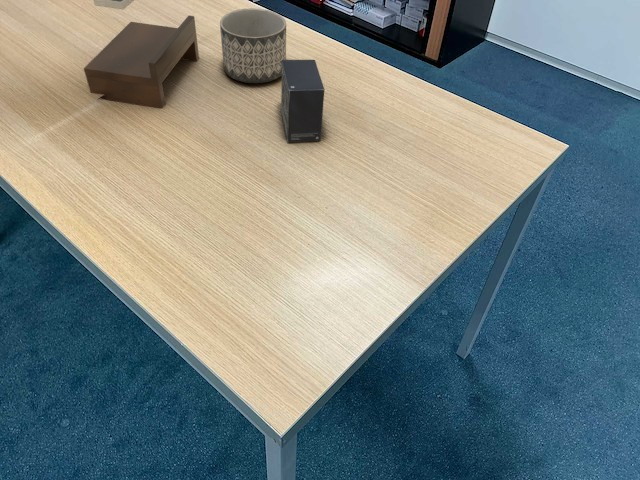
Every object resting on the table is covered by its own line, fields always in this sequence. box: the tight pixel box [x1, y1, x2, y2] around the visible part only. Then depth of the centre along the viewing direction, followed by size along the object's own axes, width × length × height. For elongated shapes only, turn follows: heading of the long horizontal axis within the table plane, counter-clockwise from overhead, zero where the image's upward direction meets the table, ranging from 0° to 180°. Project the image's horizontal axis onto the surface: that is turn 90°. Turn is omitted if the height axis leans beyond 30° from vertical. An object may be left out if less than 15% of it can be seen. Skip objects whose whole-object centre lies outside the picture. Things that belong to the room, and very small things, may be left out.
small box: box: [280, 59, 325, 143], centre depth 96 cm, size 11×6×10 cm, turn 9°
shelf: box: [83, 14, 200, 109], centre depth 105 cm, size 14×20×9 cm
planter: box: [219, 7, 287, 84], centre depth 108 cm, size 13×13×10 cm
